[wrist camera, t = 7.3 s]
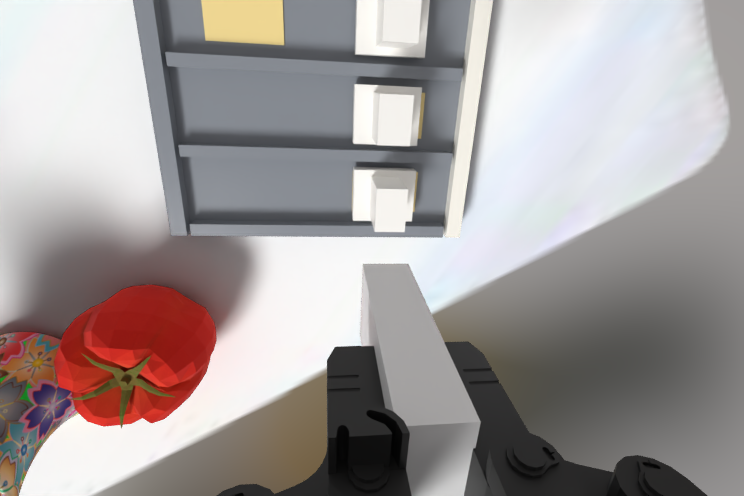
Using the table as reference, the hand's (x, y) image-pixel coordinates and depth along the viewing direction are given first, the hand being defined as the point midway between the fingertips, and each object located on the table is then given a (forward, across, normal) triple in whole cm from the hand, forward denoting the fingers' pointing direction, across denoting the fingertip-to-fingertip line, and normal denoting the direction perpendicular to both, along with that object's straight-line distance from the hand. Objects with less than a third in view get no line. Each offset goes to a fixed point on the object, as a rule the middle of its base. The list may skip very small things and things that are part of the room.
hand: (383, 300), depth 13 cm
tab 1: (+14, +2, +10) cm, 18 cm away
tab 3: (+14, +2, 0) cm, 14 cm away
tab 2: (+14, +2, +5) cm, 15 cm away
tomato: (+16, -14, -11) cm, 24 cm away
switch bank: (+16, -2, +5) cm, 17 cm away
